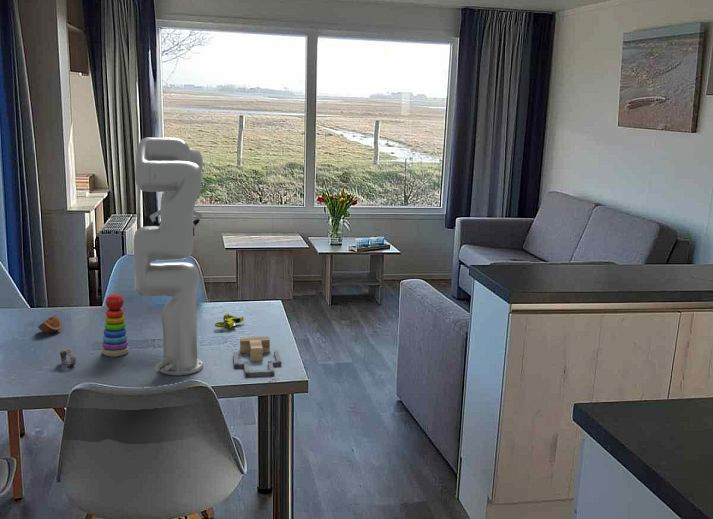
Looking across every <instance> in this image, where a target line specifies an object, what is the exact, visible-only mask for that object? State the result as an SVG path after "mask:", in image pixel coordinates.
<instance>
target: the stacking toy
mask: <svg viewBox="0 0 713 519" xmlns="http://www.w3.org/2000/svg"><path fill="white" fill-rule="evenodd" d="M105 306H106V307H107V310H106V311H105V315H106V316H105V322H106V323H105V324H104V330H103V337H102V340H103V342H102V348H101V353H102V355H104V356H106V357H115V358H116V357H120V356H124V355H126V354H127V353H129V351H130V347H129V341H128V335H127V334H126V333H127V329H126V322H125V316H124V309H122V307H123V306H124V299H123V297H122V296H121V295H120V294H118V293H111V294H109V295H107V297H106V299H105Z"/></svg>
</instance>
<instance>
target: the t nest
mask: <svg viewBox="0 0 713 519" xmlns="http://www.w3.org/2000/svg"><path fill="white" fill-rule="evenodd" d="M273 355H274V359H275V360H270V361H269V360H268V361H267V368H268V369H264V370H250V368H249V362H247V361H245V362H239V356H238V352H237V351H235V352H232V357H233V358H232V359H233V365H234V366H233V367H234V369H243V370H244V377H245V378H248V377H251V378H252V377H270V376H275V368H274V367H282V359H281V356H280V352H279V349H278V350H277V349H275V350H273Z"/></svg>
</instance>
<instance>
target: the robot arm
mask: <svg viewBox="0 0 713 519" xmlns="http://www.w3.org/2000/svg"><path fill="white" fill-rule="evenodd" d="M136 147H137V149H136V153H135V168H134V169H135V171H134V175H135V176H134V179H135V180H134V181H135V184H136V187H137V188H138V189H139V190H140V191H142V192H147V193H150V192H151V193H154V192H155V193H156V192H158V193H159V192H160V193H161V192H162V193H161V198H160V210H157V211H155V212H153V213H152V214H149V219H150V220H151V222H152V224H153V225H146V226H145V225H144V226H141V227H139V228H137V229H136V231H135V232H134V234H133V235H134V236H133V241H132V245H133V246H132V251H133V252H132V253H133V275H134V278H133V279H134V288H135V291H136V293H137V294H138V295H139V296H141V297H149V298H150V297H170V298H169V299H168V300H167V302H166V303H165V304H164V306H163V308H162V310H161V311H162V313H161V316H162V317H161V318H162V346H163V356H161V360H160V361H159V363H157V364H155V365H154V366H153V369H154V371H155V372H160V373H162V374H164V375H169V376H186V375H191V374H194V373H197V372H199V371H201V370H202V369H203V366H204V363H203V361H202V360H201V359H200V358H198V331H197V330H198V328H197V324H198V323H197V320H198V319H197V296H198V289H199V282H200V281H199V279H200V275H199V274H200V273H199V270H198V267H197V266H196V265H195V264H193V263H191V262H187V261H180V260H185V259H188V258H190V257H191V256H192V254H193V249H194V237H195V228H196V226H197V225H198V224H199V223H200V221H201V219H202V217H203V214H202V213H200V212H198V211H196V210H194V209H195V206H196V203H197V200H198V198H199V194H200V191H201V189H202V188H201V187H202V181H203V173H202V171H203V166H204V161H203V156H202V154H201V152H200V151H199V150H198V149H194V148H190V146H189V145H188V143H187V142H186V141H185V140H183V139H181V138H178V137H155V136H154V137H151V136H150V137H148V136H147V137H144V138H141V140H140V141H139V142H138V145H137V146H136ZM194 216H196V218H195V219H194ZM157 217H160V221H159V222H158V221H157V219H156V218H157ZM154 261H156V262H154ZM157 261H159V262H157ZM160 261H161V262H160ZM162 261H165V262H162Z"/></svg>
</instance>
